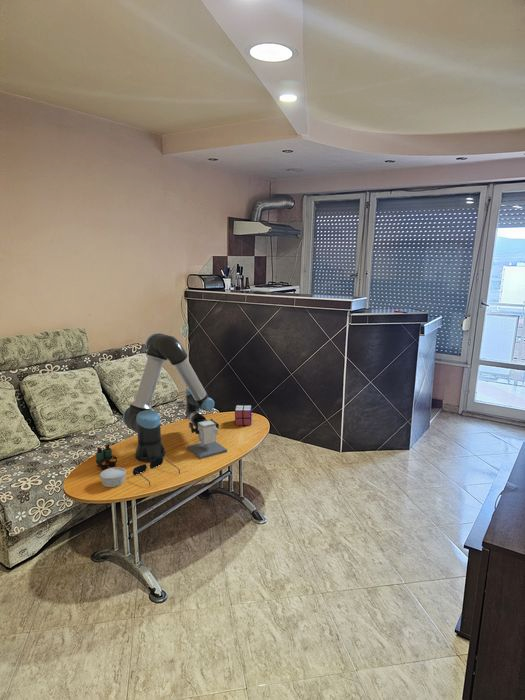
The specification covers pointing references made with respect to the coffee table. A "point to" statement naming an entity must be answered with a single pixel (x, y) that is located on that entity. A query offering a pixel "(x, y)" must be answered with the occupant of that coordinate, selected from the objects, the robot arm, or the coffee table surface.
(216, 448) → the post dock
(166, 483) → the coffee table surface
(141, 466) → the sunglasses
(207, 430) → the white rectangular box
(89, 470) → the coffee table surface
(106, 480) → the ramekin
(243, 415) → the puzzle cube
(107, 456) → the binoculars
